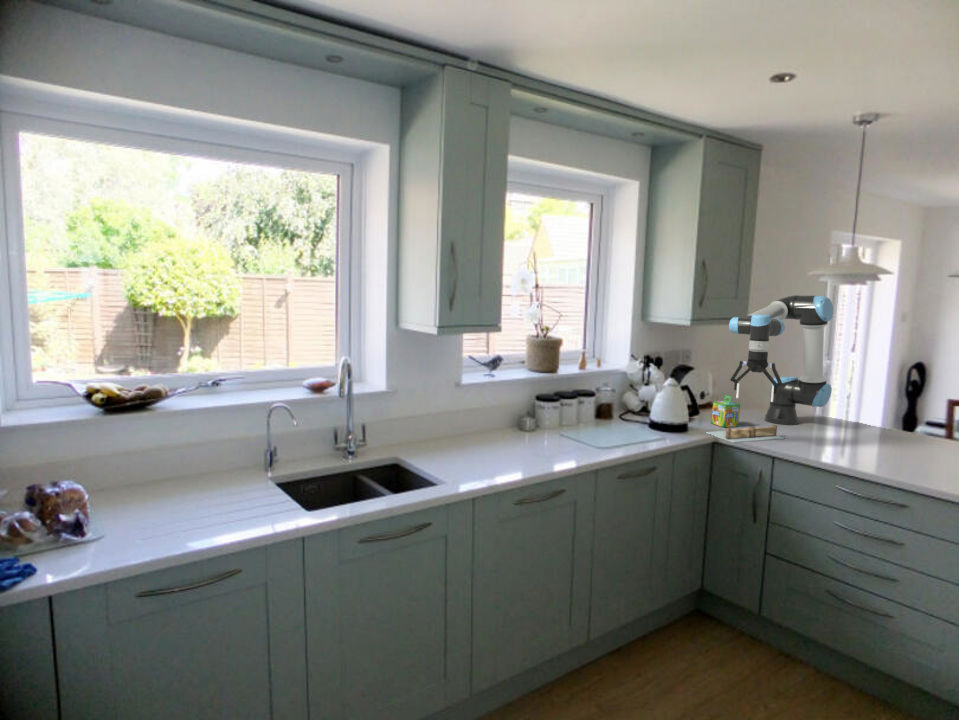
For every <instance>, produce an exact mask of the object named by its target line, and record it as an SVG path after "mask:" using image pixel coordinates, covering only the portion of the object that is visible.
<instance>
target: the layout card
mask: <svg viewBox="0 0 959 720" xmlns="http://www.w3.org/2000/svg"><path fill="white" fill-rule="evenodd" d="M705 433H706V434H708V435H710V434H711V435H710V436H713V435H714V437H716V438H719V439H723V440H725V441H726V442H727V441H728V442H730V443H733V444H735V443H736V444H737V443H747V442H750V443H751V442H761V441H773V440H784V439H785V437H783V436H779V435H777V434H776V436H773V435H771V436H757V437H755V436H754V438H751V437H744V438H730V439H727V438H726V430H718V431H717V430H716V431H706V432H705Z"/></svg>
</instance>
